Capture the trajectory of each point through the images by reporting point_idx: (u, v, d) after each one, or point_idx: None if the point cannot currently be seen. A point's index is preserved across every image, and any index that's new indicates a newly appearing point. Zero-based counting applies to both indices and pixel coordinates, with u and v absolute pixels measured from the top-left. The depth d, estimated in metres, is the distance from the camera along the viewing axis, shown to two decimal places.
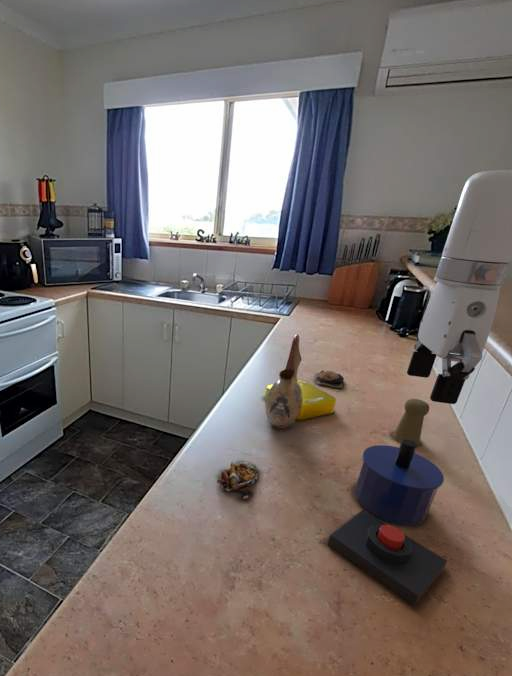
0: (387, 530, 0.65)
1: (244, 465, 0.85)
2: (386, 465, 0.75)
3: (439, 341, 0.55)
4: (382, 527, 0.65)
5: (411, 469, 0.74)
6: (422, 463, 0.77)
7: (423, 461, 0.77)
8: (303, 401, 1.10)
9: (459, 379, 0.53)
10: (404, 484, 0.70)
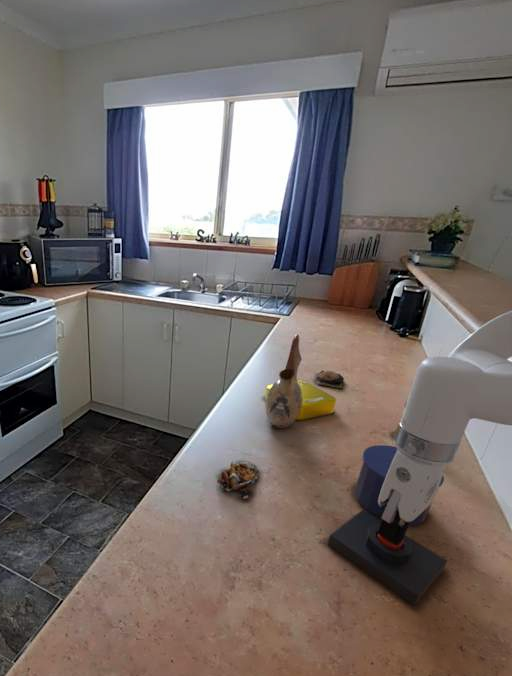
0: None
1: (244, 465, 0.85)
2: (386, 465, 0.75)
3: None
4: None
5: None
6: None
7: None
8: (303, 401, 1.10)
9: (395, 524, 0.62)
10: None
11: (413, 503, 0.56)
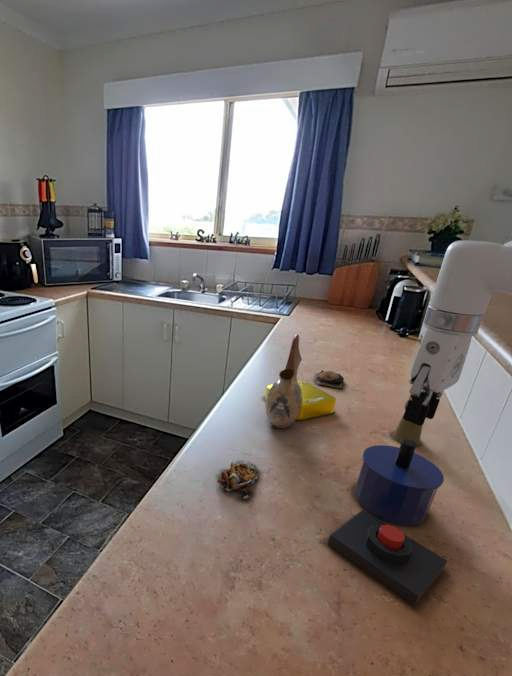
0: (387, 530, 0.65)
1: (244, 465, 0.85)
2: (386, 465, 0.75)
3: None
4: (382, 527, 0.65)
5: (411, 469, 0.74)
6: (422, 463, 0.77)
7: (423, 461, 0.77)
8: (303, 401, 1.10)
9: (420, 405, 0.68)
10: (404, 484, 0.70)
11: (442, 372, 0.63)
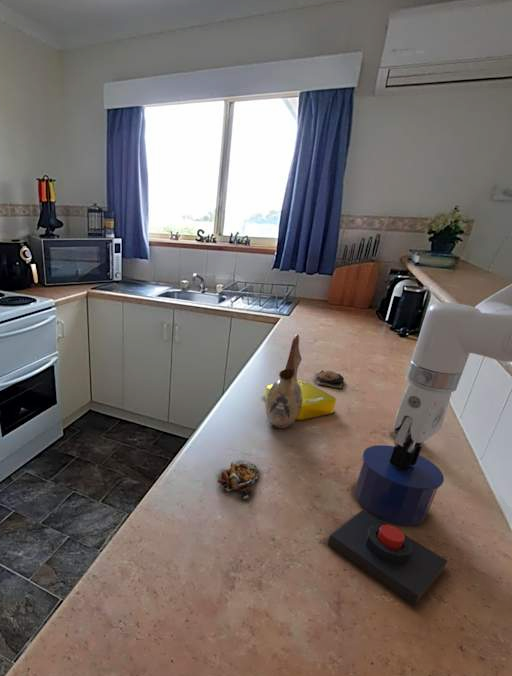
0: (387, 530, 0.65)
1: (244, 465, 0.85)
2: (386, 465, 0.75)
3: None
4: (382, 527, 0.65)
5: (411, 469, 0.74)
6: (422, 463, 0.77)
7: (423, 461, 0.77)
8: (303, 401, 1.10)
9: (405, 452, 0.72)
10: (404, 484, 0.70)
11: (423, 425, 0.67)
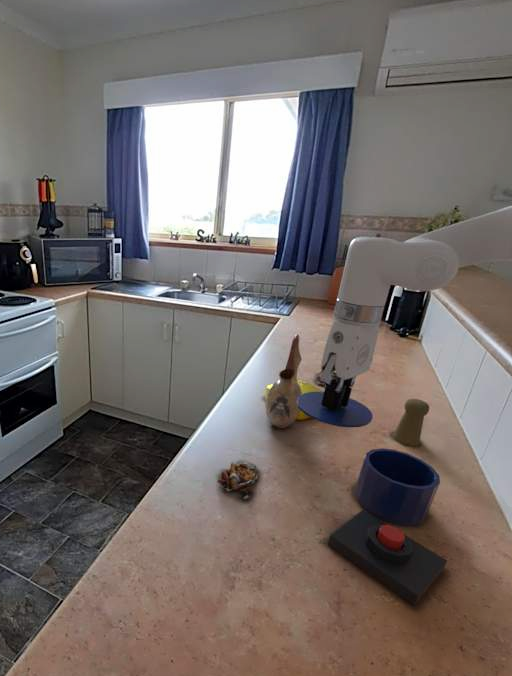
0: (387, 530, 0.65)
1: (244, 465, 0.85)
2: (317, 407, 0.76)
3: None
4: (382, 527, 0.65)
5: (342, 410, 0.75)
6: (354, 405, 0.77)
7: (356, 404, 0.78)
8: None
9: (333, 391, 0.73)
10: (331, 421, 0.71)
11: (346, 360, 0.67)
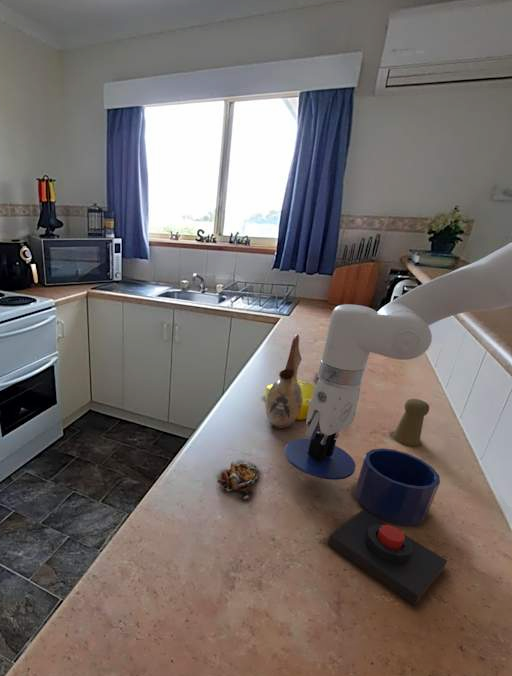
0: (387, 530, 0.65)
1: (244, 465, 0.85)
2: (304, 456, 0.80)
3: None
4: (382, 527, 0.65)
5: (327, 460, 0.79)
6: (339, 455, 0.82)
7: (341, 453, 0.82)
8: (303, 401, 1.10)
9: (318, 444, 0.77)
10: (316, 473, 0.75)
11: (329, 419, 0.72)
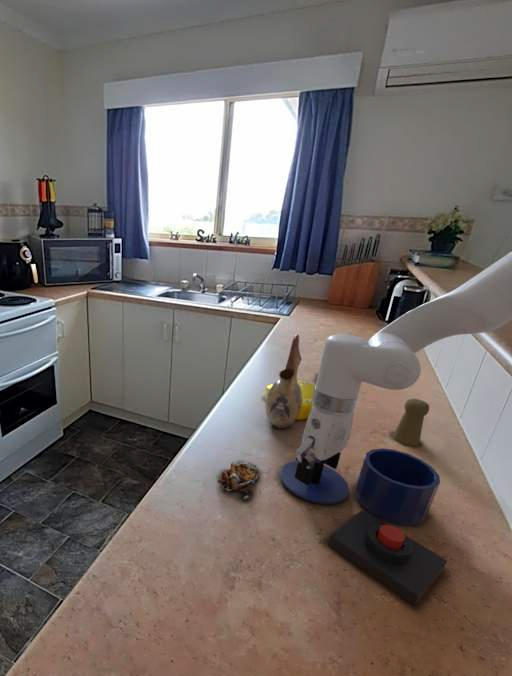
0: (387, 530, 0.65)
1: (244, 465, 0.85)
2: None
3: None
4: (382, 527, 0.65)
5: (321, 484, 0.82)
6: (333, 477, 0.84)
7: (335, 476, 0.84)
8: (303, 401, 1.10)
9: (305, 468, 0.77)
10: (310, 498, 0.78)
11: (323, 445, 0.74)
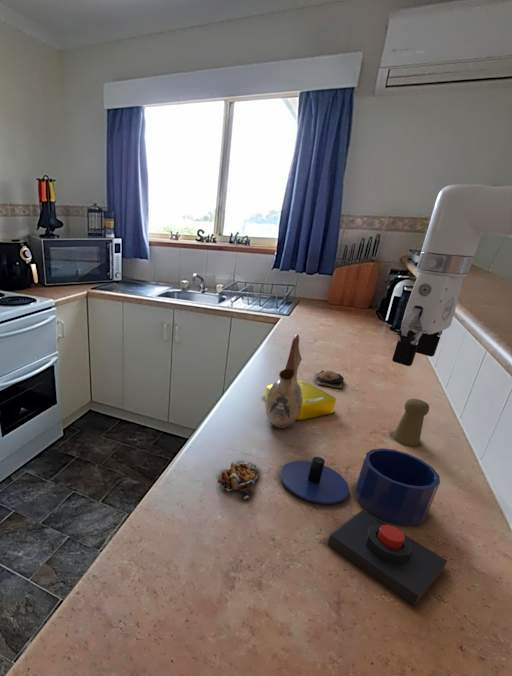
0: (387, 530, 0.65)
1: (244, 465, 0.85)
2: (299, 480, 0.83)
3: None
4: (382, 527, 0.65)
5: (321, 484, 0.82)
6: (333, 477, 0.84)
7: (335, 476, 0.84)
8: (303, 401, 1.10)
9: (408, 344, 0.69)
10: (310, 498, 0.78)
11: (433, 313, 0.66)
